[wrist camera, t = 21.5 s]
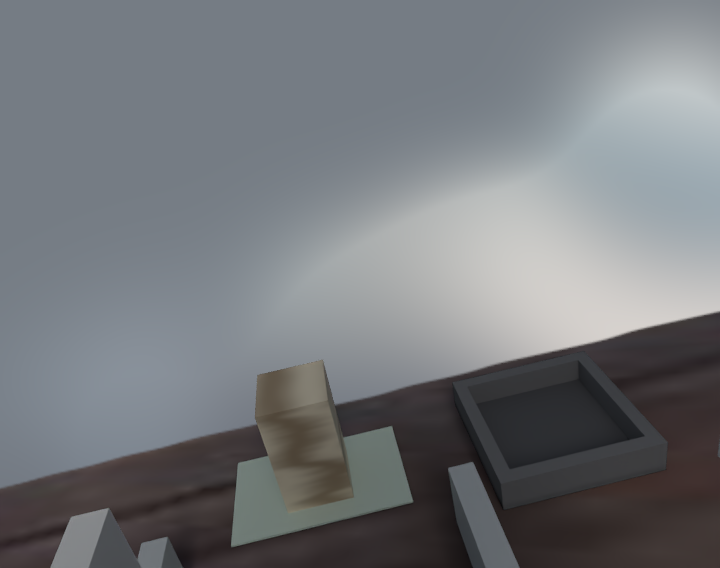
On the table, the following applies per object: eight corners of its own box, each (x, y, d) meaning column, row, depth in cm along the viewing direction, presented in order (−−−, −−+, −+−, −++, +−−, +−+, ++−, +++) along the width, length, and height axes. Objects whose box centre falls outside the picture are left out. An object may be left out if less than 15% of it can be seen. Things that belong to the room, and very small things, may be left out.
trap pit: (584, 374, 60) (583, 351, 59) (665, 469, 47) (667, 442, 46) (455, 405, 59) (452, 382, 58) (503, 510, 47) (500, 483, 46)
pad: (392, 427, 58) (391, 426, 58) (413, 502, 49) (412, 500, 49) (238, 464, 58) (238, 463, 58) (231, 547, 49) (231, 545, 49)
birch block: (346, 451, 56) (322, 359, 51) (353, 497, 51) (327, 400, 46) (287, 465, 56) (257, 375, 51) (288, 513, 51) (254, 417, 46)
